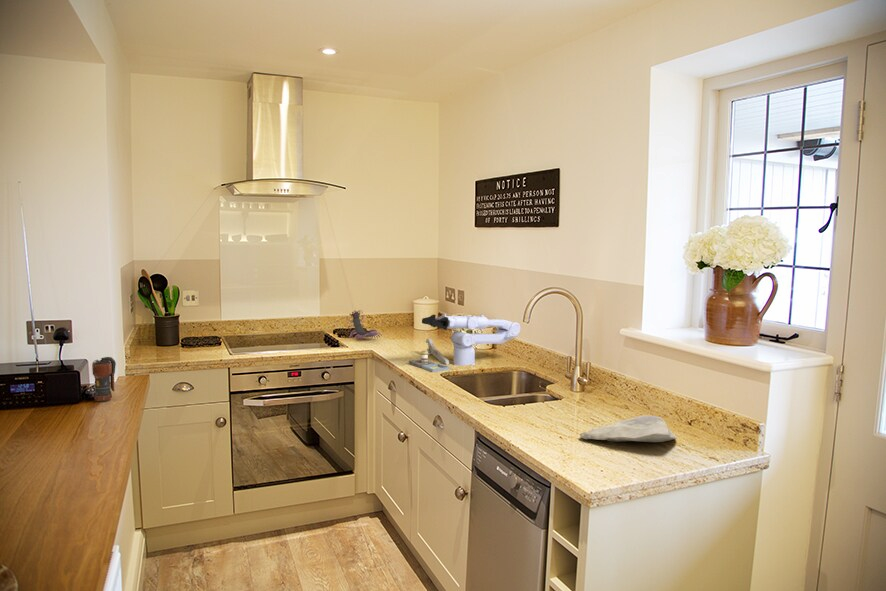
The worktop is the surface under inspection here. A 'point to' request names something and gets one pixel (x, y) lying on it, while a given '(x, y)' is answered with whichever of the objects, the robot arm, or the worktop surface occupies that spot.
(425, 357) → the cylinder
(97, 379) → the grenade
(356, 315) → the toy
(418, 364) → the fuse block
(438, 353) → the wrench
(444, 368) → the parts tray
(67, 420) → the worktop surface
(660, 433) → the decorative stone
